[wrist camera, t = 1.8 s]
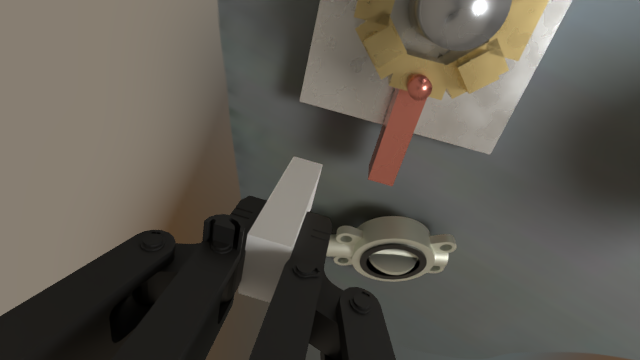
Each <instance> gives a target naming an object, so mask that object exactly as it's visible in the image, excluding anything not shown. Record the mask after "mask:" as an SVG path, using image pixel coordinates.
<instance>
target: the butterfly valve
mask: <svg viewBox="0 0 640 360" xmlns="http://www.w3.org/2000/svg"><path fill="white" fill-rule="evenodd" d="M456 247H457V246H456V242H455V238H454V236H452V235H450V234H441V235H433V236H431V235H430V232H429V230H428V229H427V227H426V226H425V225H423V224H422V223H420V222H418V221H416V220H414V219H411V218H407V217H401V216H384V217H379V218H374V219H371V220H369V221H366V222H364V223H363V224H361V225H360V226H359V227H358V228H354V227H351V226H341V227H339V228H338V229H337V235H336V234H331V235H330V240H329V245H328V250H327V254H326V256H330V257H334V262H335V263H337V264H339V265H351V264H353V266H354V268H355V269H356V270H357V271H358V272H359V273H361V274H362V275H364V276H366V277H369V278H372V279H376V280H381V281H405V280H410V279H414V278H417V277H419V276H421V275H423V274H425V273H427V272H428V273H439V272H441V271H443V270H444V267H445V266H446V265H447V262H448V253H450V252H453V251H454V250H455V249H456Z"/></svg>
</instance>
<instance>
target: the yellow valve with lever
mask: <svg viewBox="0 0 640 360" xmlns="http://www.w3.org/2000/svg"><path fill="white" fill-rule="evenodd" d="M548 1H549V0H512V3H511V7H510V11H509V13H508V16H507V18H506V20H505V22H504V23H503V25H502V26H501V28H500V29H499V30H498V31H497V33H496V34H495V35H494V36H493V37H492V38H490V39H489V40H488V41H486V42H485V43H483V44H482V45H480V46H478V47H475V48H473V49H469V50H465V51H450V52H448V53H446V54H445V55H443V56H441V57H439V58H436V57H432V56H428V55H425V54H421V53H417V52H413V51H410V50H406V49H405V47H404V45H403V43H402V41H401V39H400V36H399V34H398V32H397V30H396V28H395V26H394V24H393V22H392V20H391V18H390V15H391V12H392V9H393V5H394V2H395V0H358V1H357V5H356V9H355V13H354V17H355V18H359V19H363V20H367V21H366V22H364V23H363V24H361V25H360V26H358V27H357V28H355V30H356V32H357V34H358V36H359V38H360V40H361V42H362V44H363V45H364V47H365V49H366V51H367V53H368V55H369V57H370V59H371V61H372V63H373V65H374V67H375V69H376V71H377V73H378V74H379V76H380V78H381V79H383V78H385V77H387V76H388V83H389V86H391V87H395V91H394V94H393V97H392V100H391V102H390V105H389V108H388V111H387V114H386V117H385V120H384V123H383V126H382V129H381V132H380V135H379V138H378V140H377V143H376V146H375V149H374V152H373V155H372V158H371V161H370V164H369V173H368V179H369V180H372V181H376V182H379V183H383V184H386V185H390V186H393V183H394V181H395V178H396V176H397V173H398V171H399V168H400V166H401V163H402V161H403V158H404V155H405V153H406V150H407V148H408V145H409V143H410V140H411V138H412V135H413V133H414V130H415V128H416V125H417V122H418V120H419V117H420V115H421V112H422V110H423V107H424V105H425V102H426V100H427V97H431V98H435V99H438V100H442V98H443V95H444V93H445V91H446V92H447V94H448V95H449V96H450V97H451V98H452V99H453V98H455V97H457V96H459V95H461V94H463V93H465V92H468V93H469V94H470V93H472V92H474V91H476V90H478V89H480V88H482V87H484V86H486V85H488V84H490V83H493V82H495V81H497V80H499V79H500V78H499V75H501V74H503V73H505V72H507V71H509V68H508V66H507V63H506V60H505V58H508V59H512V60H515V61H519V59H520V57H521V55H522V53H523V51H524V49H525V47H526V45H527V43H528V41H529V39H530V37H531V35H532V33H533V31H534V29H535V27H536V25H537V23H538V21H539V19H540V17H541V15H542V13H543V11H544V9H545V7H546V5H547V3H548Z"/></svg>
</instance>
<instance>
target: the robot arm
mask: <svg viewBox="0 0 640 360" xmlns="http://www.w3.org/2000/svg"><path fill="white" fill-rule="evenodd" d="M321 169H322V164H319V163H315V162H312V161H308V160H305V159H301V158H298V157H293V158H292V160H291V162H290V163H289V165H288V167H287V168H286V170H285V172H284V173H283V175H282V177H281V179H280V180H279V182H278V184H277V185H276V187H275V189H274V190H273V192H272V194H271V195H270V197H269V199H268V200H263V199H260V198H256V197H253V196H248V197H246V198H244V199H242V200H241V201H240V202H239V203H238V205H237V206H236V208H235V209H234V210H233V212H232V213H231V214H230V215H225V214H222V215H214V216H211V217H209V218H208V219H206V220H205V221H204V230H203V241H202V242H201V243H199V244H178V243H175V239H174V237H173V236H172V235H171V234H170V233H168V232H165V231H162V230H150V231H144V232H142V233H139V234H137V235H135V236H134V237H132V238H130V239H129V240H127V241H125V242H124V243H122V244H120V245H119V246H117V247H115V248H114V249H112V250H110V251H109V252H107V253H105V254H103V255H102V256H100V257H98V258H97V259H95V260H93V261H92V262H90V263H88V264H87V265H85V266H84V267H82V268H80V269H78V270H77V271H75V272H73V273H72V274H70V275H68V276H67V277H65V278H64V279H62V280H60V281H58V282H57V283H55V284H53V285H52V286H50V287H48V288H47V289H45V290H43V291H42V292H40V293H38V294H37V295H35V296H33V297H32V298H30V299H28V300H27V301H25V302H23V303H22V304H20V305H18V306H17V307H15V308H13V309H12V310H10V311H8V312H7V313H5V314H3V315H2V316H0V360H205V359H206V357H207V355H208V353H209V351H210V349H211V347H212V345H213V343H214V341H215V339H216V337H217V335H218V333H219V331H220V329H221V327H222V325H223V323H224V321H225V319H226V317H227V315H228V313H229V311H230V309H231V307H232V304H233V300H234V294H235V292H236V290H237V288H238V286H239V290H238V293H240V294H243V295H247V296H250V297H253V298H257V299H260V300H264V301H267V302H270V305H269V308H268V310H267V313H266V316H265V318H264V321H263V324H262V327H261V329H260V332H259V334H258V337H257V340H256V342H255V345H254V348H253V350H252V353H251V355H250V359H249V360H305V358H306V353H307V349H308V344H311V345H313V346H314V347H315V348H317V349H318V350H320V351H321V352H320V356H321V360H396V359H395V355H394V352H393V348H392V345H391V341H390V337H389V334H388V330H387V327H386V323H385V320H384V316H383V313H382V309H381V306H380V304H379V302H378V300H377V298H376V297H375V296H374V295H373V294H372V293H370V292H369V291H367V290H365V289H362V288H358V287H350V288H348V289H346V290H344V291H343V290H342V289H340V288H338V287H337V286H335V285H334V284H332V283H331V282H330V281H329V280H328V278H327V277H326V275H325V272H324V264H325V259H326V254H327V250H328V245H329V240H330V235H331V231H332V223H331V221H330V218H328V217H325V216H321V215H318V214H314V213H311V212H310V210H311V207H312V203H313V199H314V195H315V192H316V188H317V184H318V180H319V176H320V173H321Z"/></svg>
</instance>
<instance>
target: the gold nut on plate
mask: <svg viewBox="0 0 640 360" xmlns="http://www.w3.org/2000/svg"><path fill="white" fill-rule="evenodd" d="M357 1H358V0H320V4H319V9H318V13H317V18H316V23H315V28H314V33H313V38H312V43H311V48H310V52H309V57H308V62H307V67H306V72H305V77H304V82H303V86H302V91H301V96H300V102H303V103H307V104H310V105H314V106H318V107H321V108H325V109H328V110H332V111H336V112H339V113H343V114H346V115H350V116H353V117H357V118H361V119H364V120H368V121H371V122H375V123H379V124H382V125H383V123H384V120H385V117H386V114H387V111H388V108H389V105H390V102H391V100H392V97H393V94H394V91H395V87H391V86H389V83H388V76H387V77H385V78H383V79H381V78H380V76H379V74H378V73H377V71H376V69H375V67H374V65H373V63H372V61H371V59H370V57H369V55H368V53H367V51H366V49H365V47H364V45H363V44H362V42H361V40H360V38H359V36H358V34H357V32H356V30H355V28H357V27H358V26H360V25H361V24H363V23H364V22H366V21H367V20H363V19H359V18H355V17H354V13H355V9H356V5H357ZM571 2H572V0H549V1H548V3H547V5H546V7H545V9H544V11H543V13H542V15H541V17H540V19H539V21H538V23H537V25H536V27H535V29H534V31H533V33H532V35H531V37H530V39H529V41H528V43H527V45H526V47H525V49H524V51H523V53H522V55H521V57H520V59H519V61H515V60H512V59H508V58H505V60H506V63H507V66H508V68H509V71H507V72H505V73H503V74H501V75H499V78H500V79H499V80H497V81H495V82H493V83H490V84H488V85H486V86H484V87H482V88H480V89H478V90H476V91H474V92H472V93H470V94H469V93H468V92H465V93H463V94H461V95H459V96H457V97H455V98H453V99H452V98H451V97H450V96H449V95H448V94H447V92H446V91H445V93H444V95H443V98H442V100H438V99H435V98H431V97H427V100H426V102H425V105H424V107H423V110H422V112H421V115H420V117H419V120H418V122H417V125H416V128H415V130H414V134H418V135H422V136H425V137H429V138H432V139H436V140H440V141H443V142H447V143H450V144H454V145H457V146H461V147H465V148H468V149H472V150H475V151H479V152H483V153H486V154H491V152H492V150H493V148H494V146H495V145H496V143H497V141H498V139H499V137H500V135H501V133H502V131H503V130H504V128H505V126H506V124H507V122H508V120H509V118H510V116H511V114H512V113H513V111H514V109H515V107H516V105H517V103H518V101H519V99H520V98H521V96H522V94H523V92H524V90H525V88H526V86H527V84H528V83H529V81H530V79H531V77H532V75H533V73H534V71H535V69H536V68H537V66H538V64H539V62H540V60H541V58H542V56H543V54H544V52H545V51H546V49H547V47H548V45H549V43H550V41H551V39H552V37H553V36H554V34H555V32H556V30H557V28H558V26H559V24H560V22H561V21H562V19H563V17H564V15H565V13H566V11H567V9H568V7H569V6H570V4H571ZM511 3H512V0H395V2H394V5H393V9H392V12H391V15H390V18H391V20H392V22H393V24H394V26H395V28H396V30H397V32H398V34H399V36H400V39H401V41H402V43H403V45H404V47H405V49H406V50H410V51H413V52H417V53H421V54H425V55H428V56H432V57H436V58H439V57H441V56H443V55H445V54H446V53H448V52H450V51H465V50H469V49H473V48H475V47H478V46H480V45H482V44H483V43H485V42H486V41H488V40H489V39H490V38H492V37H493V36H494V35H495V34H496V33H497V31H498V30H499V29H500V28H501V26H502V25H503V23H504V22H505V20H506V18H507V16H508V13H509V11H510V7H511Z"/></svg>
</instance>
